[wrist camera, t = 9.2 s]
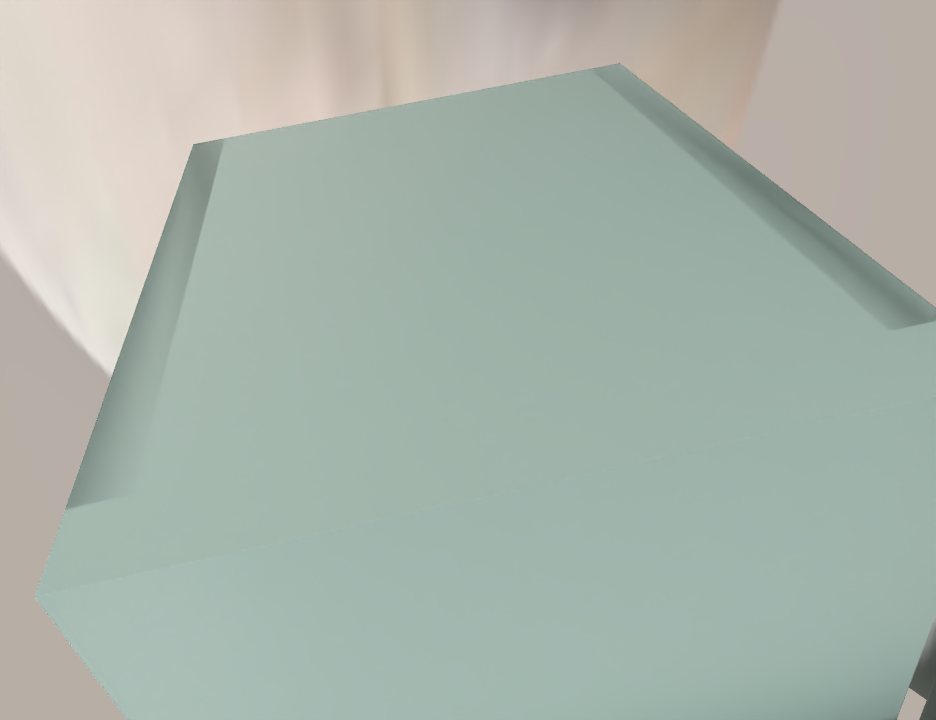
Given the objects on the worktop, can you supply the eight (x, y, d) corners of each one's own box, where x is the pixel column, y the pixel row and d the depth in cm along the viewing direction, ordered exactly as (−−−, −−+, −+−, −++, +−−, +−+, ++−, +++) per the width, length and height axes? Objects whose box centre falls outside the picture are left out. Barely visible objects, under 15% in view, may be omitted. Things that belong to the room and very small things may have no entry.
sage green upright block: (193, 144, 12) (34, 596, 5) (619, 63, 13) (1024, 375, 5) (348, 581, 19) (374, 1048, 12) (627, 518, 19) (817, 931, 12)
